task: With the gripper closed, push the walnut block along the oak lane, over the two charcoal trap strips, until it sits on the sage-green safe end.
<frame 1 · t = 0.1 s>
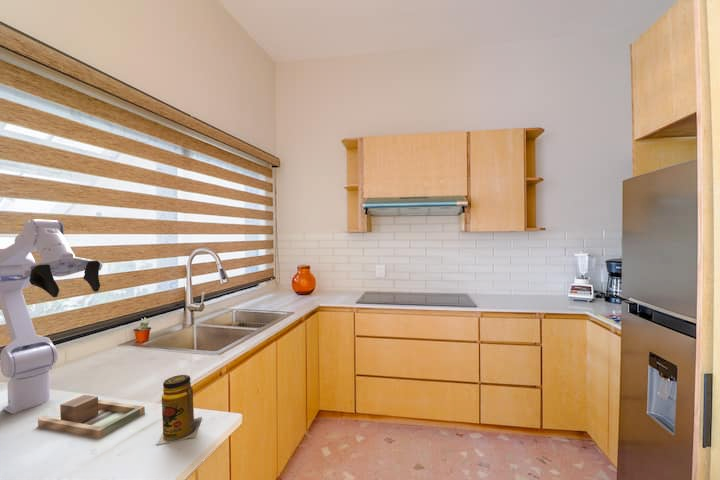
hand: (77, 291, 74), 32 cm above the counter, tool tilted 50°, fingers open, 7 cm apart
walnut block: (80, 417, 77), point 1 cm above the counter, touching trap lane
condiment: (180, 431, 72), on the counter
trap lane: (96, 424, 76), on the counter
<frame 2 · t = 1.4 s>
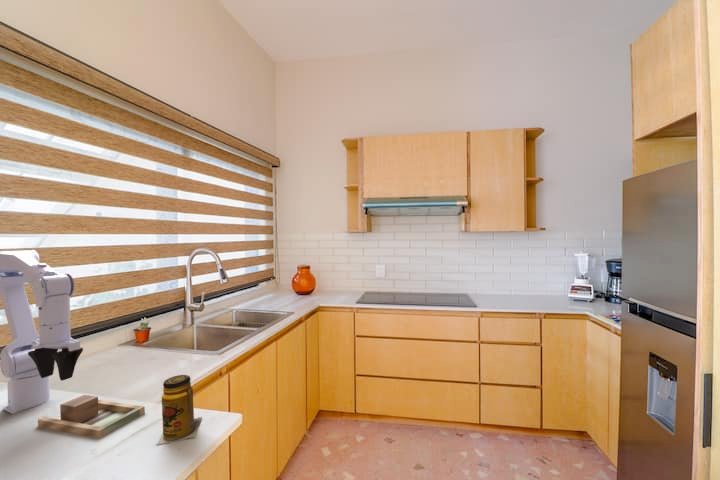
hand: (56, 377, 80), 10 cm above the counter, tool pointing down, fingers open, 7 cm apart
nothing on the counter moved.
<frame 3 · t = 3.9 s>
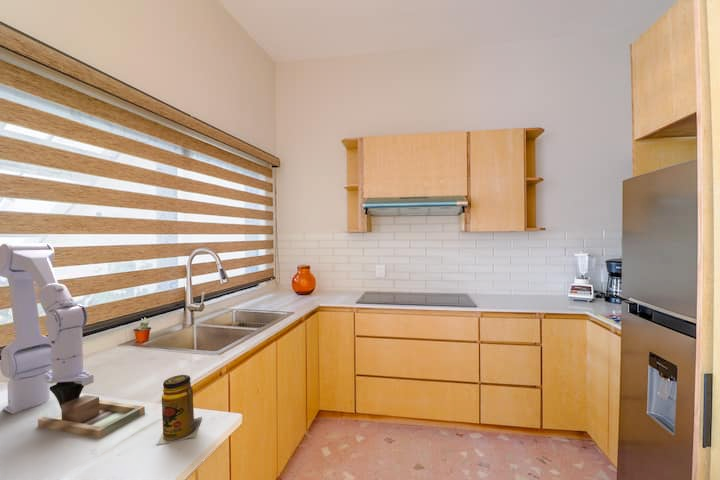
hand: (69, 411, 79), 2 cm above the counter, tool pointing down, fingers closed
walnut block: (81, 417, 77), point 1 cm above the counter, touching gripper, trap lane
everything else where it was.
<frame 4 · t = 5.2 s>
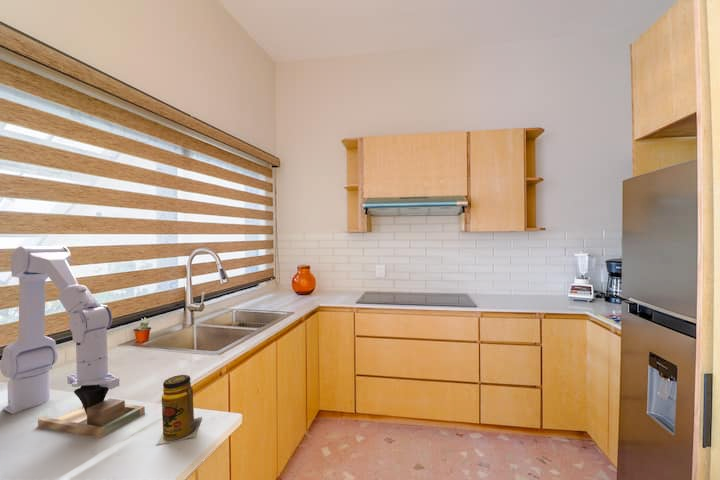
hand: (94, 415, 76), 2 cm above the counter, tool pointing down, fingers closed
walnut block: (106, 421, 75), point 1 cm above the counter, touching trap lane
everything else where it was.
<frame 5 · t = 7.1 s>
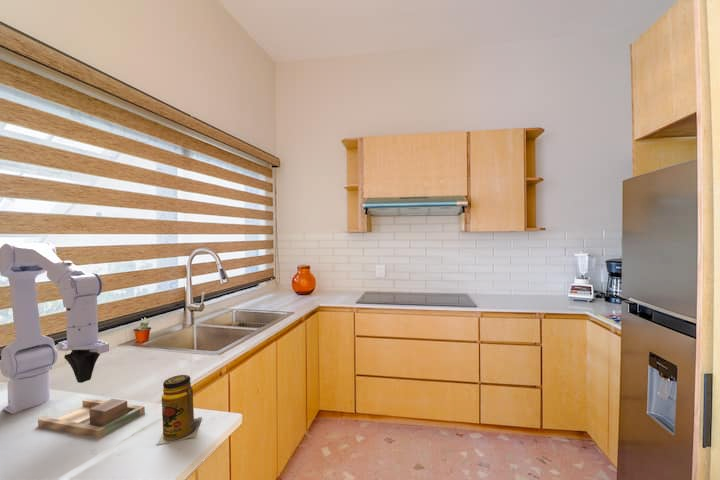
hand: (84, 380, 77), 10 cm above the counter, tool pointing down, fingers closed
nothing on the counter moved.
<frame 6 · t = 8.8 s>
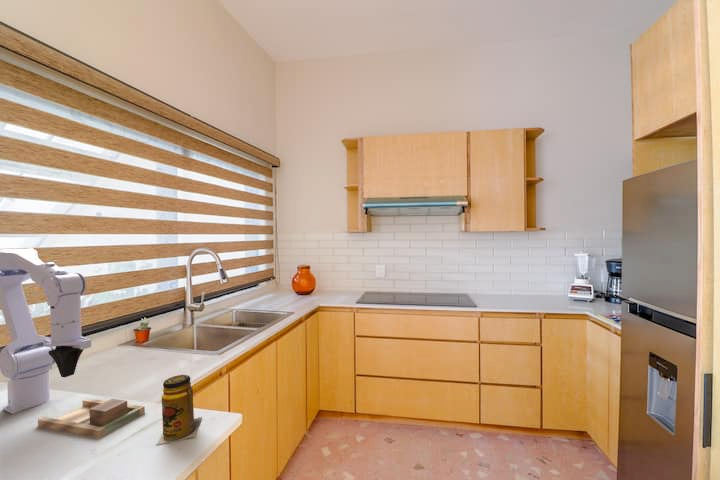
hand: (67, 375, 81), 10 cm above the counter, tool pointing down, fingers closed
nothing on the counter moved.
at the end: walnut block 0.2 cm from the target spot, point 1.0 cm above the counter; walnut block tilted 0°; walnut block moved 9.8 cm from its start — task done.
